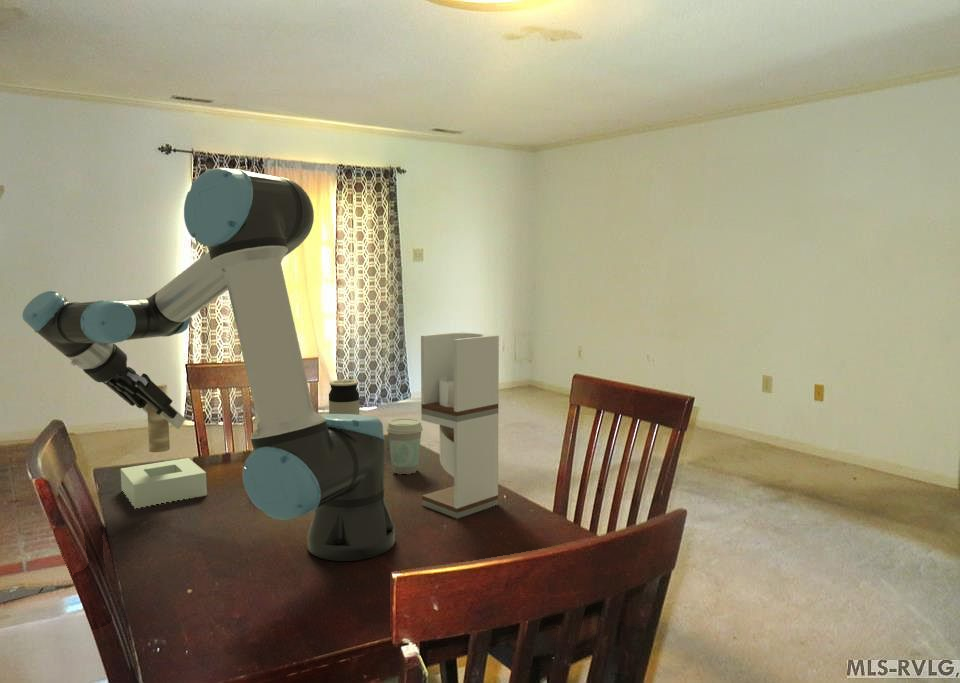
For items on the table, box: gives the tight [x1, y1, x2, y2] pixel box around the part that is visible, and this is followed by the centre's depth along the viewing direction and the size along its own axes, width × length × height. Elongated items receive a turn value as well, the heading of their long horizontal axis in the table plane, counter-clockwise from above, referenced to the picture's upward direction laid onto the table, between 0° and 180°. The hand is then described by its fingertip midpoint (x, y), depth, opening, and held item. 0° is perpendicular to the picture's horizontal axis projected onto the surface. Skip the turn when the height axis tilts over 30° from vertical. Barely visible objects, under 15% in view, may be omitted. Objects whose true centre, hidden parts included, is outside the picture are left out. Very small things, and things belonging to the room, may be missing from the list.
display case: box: [420, 331, 500, 519], centre depth 141 cm, size 11×11×35 cm
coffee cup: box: [386, 418, 423, 475], centre depth 166 cm, size 8×8×12 cm
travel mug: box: [328, 379, 360, 415], centre depth 186 cm, size 8×8×18 cm
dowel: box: [146, 383, 171, 453], centre depth 148 cm, size 4×4×14 cm
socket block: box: [120, 457, 208, 510], centre depth 150 cm, size 14×14×5 cm
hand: (173, 422), depth 152 cm, fingers closed on dowel, 4 cm apart
